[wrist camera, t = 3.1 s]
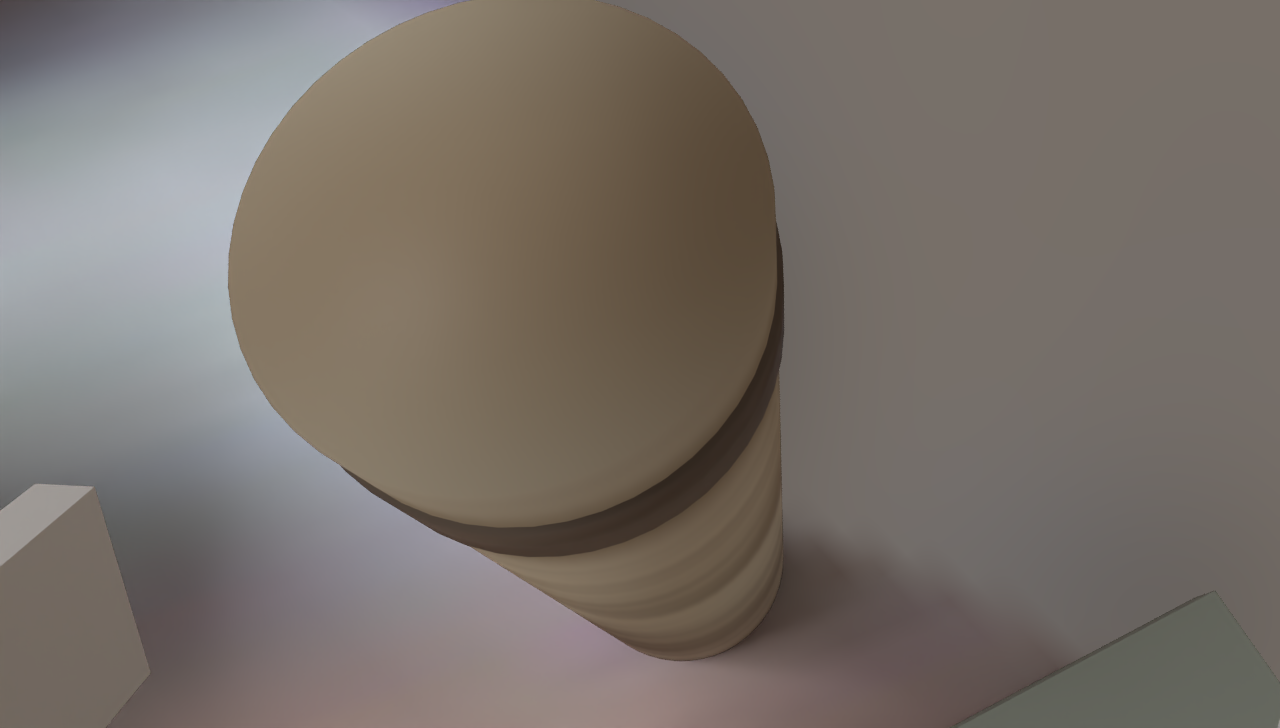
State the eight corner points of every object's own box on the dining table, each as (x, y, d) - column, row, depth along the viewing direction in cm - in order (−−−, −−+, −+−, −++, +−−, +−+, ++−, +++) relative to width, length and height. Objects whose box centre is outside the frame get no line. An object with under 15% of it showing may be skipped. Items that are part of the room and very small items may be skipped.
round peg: (546, 512, 21) (157, 136, 8) (724, 420, 21) (626, -93, 8) (633, 702, 20) (328, 617, 7) (825, 601, 20) (898, 325, 7)
